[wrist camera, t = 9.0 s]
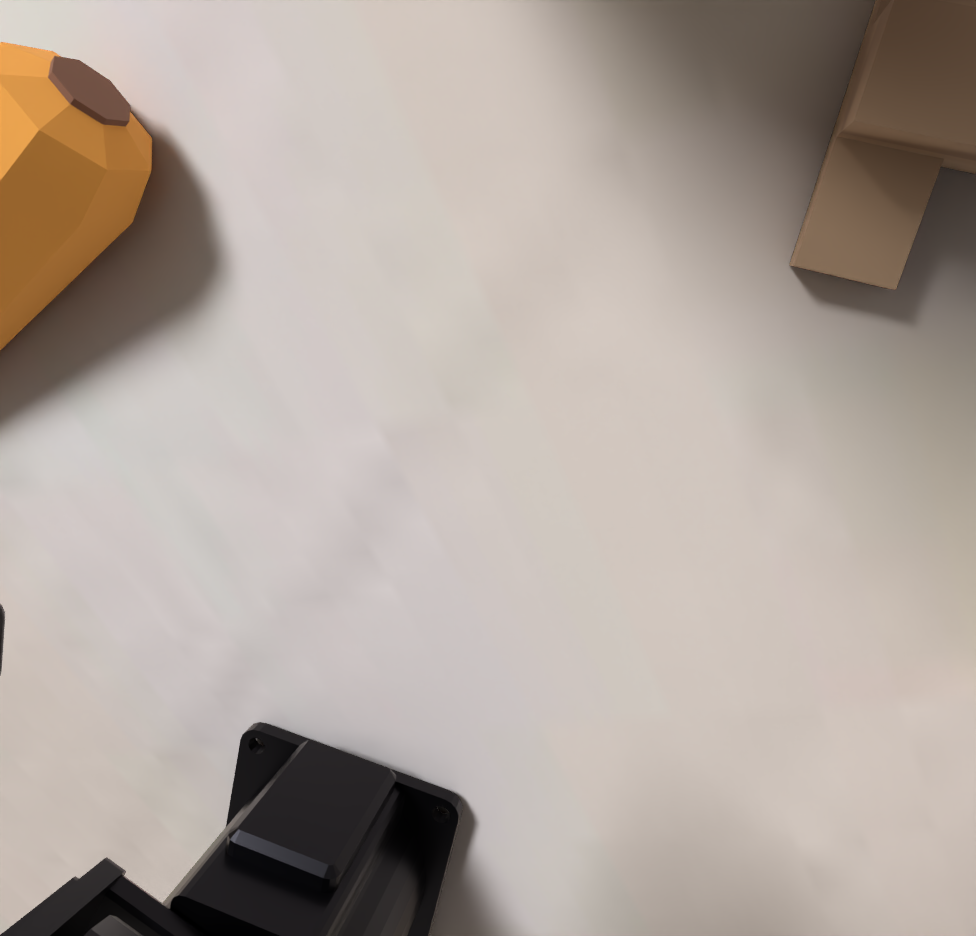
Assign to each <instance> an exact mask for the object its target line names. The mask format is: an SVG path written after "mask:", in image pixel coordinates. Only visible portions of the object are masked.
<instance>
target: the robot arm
mask: <svg viewBox="0 0 976 936" xmlns="http://www.w3.org/2000/svg"><path fill="white" fill-rule="evenodd" d="M4 624H5V612H4V609H3V607H2V605H1V604H0V675H1V669H2V655H3V640H4ZM256 738H259V739H260V740H262V742H263V743H264V745H265V746H262V745H260V744H259V743H258V742H257V741H256ZM437 806H441V807H444V808H446V809H447V810H448V812H449V814H445V813H442V812H440V811H439V810H438V808H437ZM461 815H462V803H461V801H460V799H459V798H458V797H457V795H456V794H454V793H452V792H451V791H449V790H446V789H444V788H441V787H438V786H435V785H433V784H430V783H427V782H425V781H422V780H419V779H416V778H414V777H411V776H408V775H405V774H403V773H400V772H397V771H395V770H392V769H389V768H387V767H384V766H382V765H379V764H376V763H373V762H371V761H368V760H365V759H362V758H360V757H357V756H354V755H352V754H349V753H346V752H343V751H341V750H338V749H335V748H332V747H330V746H327V745H324V744H322V743H319V742H316V741H313V740H310V739H307V738H305V737H302V736H299V735H296V734H294V733H291V732H288V731H286V730H283V729H280V728H277V727H275V726H272V725H269V724H267V723H261V722H259V723H255V724H253V725H252V726H251V727H250V728H249V729H248V730H247V731H246V732H245V733H244V734H243V735H242V738H241V740H240V746H239V752H238V758H237V764H236V770H235V776H234V782H233V788H232V794H231V800H230V806H229V812H228V818H227V825H226V828H225V829H224V830H223V831H222V833H221V834H220V835H219V836H218V837H217V839H216V840H215V841H214V842H213V843H212V845H211V846H210V847H209V848H208V849H207V851H206V852H205V853H204V854H203V855H202V857H201V858H200V859H199V860H198V861H197V863H196V864H195V865H194V866H193V867H192V869H191V870H190V871H189V872H188V873H187V875H186V876H185V877H184V878H183V879H182V881H181V882H180V883H179V884H178V885H177V887H176V888H175V889H174V890H173V891H172V893H171V894H170V895H169V896H168V897H167V898H166V900H165V901H164V902H163V903H161V902H160V901H158V900H157V899H156V898H154V897H153V896H151V895H150V894H149V893H147V892H146V891H144V890H143V889H142V888H140V887H139V886H137V885H136V884H135V883H133V882H132V881H130V880H129V879H128V878H126V877H125V876H124V875H125V873H126V871H125V870H124V869H122V868H121V867H119V866H118V865H117V864H115V863H114V862H112V861H111V860H110V859H108V858H105V859H104V860H102V861H101V862H100V863H99V864H97V865H96V866H95V867H94V868H92V869H91V870H90V871H88V872H87V873H86V874H85V875H83V876H82V877H81V878H80V879H78V878H77V877H74V878H72V879H71V880H70V881H68V882H67V883H66V884H65V885H63V886H62V887H61V888H59V889H58V890H57V891H56V892H54V893H53V894H52V895H51V896H49V897H48V898H47V899H45V900H44V901H43V902H42V903H40V904H39V905H38V906H37V907H35V908H34V909H33V910H32V911H30V912H29V913H28V914H26V915H25V916H24V917H23V918H21V919H20V920H19V921H18V922H16V923H15V924H14V925H12V926H11V927H10V928H9V929H7V930H6V931H5V932H4V933H2V934H1V935H0V936H430V932H431V928H432V924H433V921H434V917H435V913H436V909H437V906H438V902H439V898H440V894H441V890H442V887H443V883H444V879H445V875H446V871H447V868H448V864H449V860H450V856H451V853H452V849H453V845H454V841H455V837H456V834H457V830H458V826H459V822H460V818H461Z"/></svg>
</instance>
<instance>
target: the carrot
mask: <svg viewBox="0 0 976 936" xmlns="http://www.w3.org/2000/svg"><path fill="white" fill-rule="evenodd" d="M151 168H152V137H151V136H150V135H149V134H148V133H147V131H146V130H145V129H144V128H143V127H142V125H141V124H140V123H139V122H138V120H137V119H136V118H135V117H134V116H133V114H132V113H131V112H130V104H129V103H128V102H127V101H126V100H125V98H124V97H123V96H122V95H121V93H120V92H119V91H118V90H117V89H116V87H115V86H114V85H113V84H112V82H111V81H110V80H108V79H107V78H105V77H104V76H102V75H101V74H99V73H98V72H96V71H95V70H93V69H92V68H90V67H89V66H87V65H86V64H84V63H83V62H81V61H80V60H75V59H70V58H64V57H61V56H59V55H58V54H56V53H55V52H53V51H48V50H42V49H37V48H31V47H26V46H21V45H15V44H10V43H4V42H1V43H0V350H1V349H2V348H3V347H4V346H5V345H6V344H7V343H8V342H10V341H11V340H12V339H13V338H14V337H15V336H16V335H17V334H18V333H19V332H20V331H21V330H22V329H23V328H24V327H25V326H26V325H27V324H28V323H29V322H30V321H31V320H32V319H33V318H34V317H35V316H36V315H37V314H38V313H39V312H41V311H42V310H43V309H44V308H45V307H46V306H47V305H48V304H49V303H50V302H51V301H52V300H53V299H54V298H55V297H56V296H57V295H58V294H59V293H60V292H61V291H62V290H63V289H64V288H65V287H66V286H67V285H68V284H69V283H71V282H72V281H73V280H74V279H75V278H76V277H77V276H78V275H79V274H80V273H81V272H82V271H83V270H84V269H85V268H86V267H87V266H88V265H89V264H90V263H91V262H92V261H93V260H94V259H95V258H96V257H97V256H98V255H99V254H100V253H102V252H103V251H104V250H105V249H106V248H107V247H108V246H109V245H110V244H111V243H112V242H113V241H114V240H115V239H116V238H117V237H118V236H119V235H120V234H121V233H122V232H123V231H124V230H125V229H126V228H127V227H128V226H129V225H130V224H132V223H133V220H134V217H135V214H136V212H137V209H138V206H139V204H140V201H141V198H142V195H143V193H144V190H145V187H146V184H147V182H148V179H149V176H150V173H151Z"/></svg>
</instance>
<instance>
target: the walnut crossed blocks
mask: <svg viewBox="0 0 976 936" xmlns="http://www.w3.org/2000/svg"><path fill="white" fill-rule="evenodd" d="M941 167H945V168H950V169H954V170H959V171H964V172H968V173H973V174H976V0H876V1H875V4H874V7H873V10H872V13H871V16H870V19H869V23H868V26H867V29H866V32H865V35H864V38H863V41H862V44H861V47H860V50H859V53H858V56H857V59H856V62H855V65H854V68H853V72H852V75H851V78H850V81H849V84H848V87H847V90H846V93H845V96H844V99H843V102H842V105H841V108H840V111H839V114H838V118H837V121H836V124H835V127H834V130H833V133H832V136H831V139H830V142H829V145H828V148H827V151H826V154H825V157H824V160H823V163H822V167H821V170H820V173H819V176H818V179H817V182H816V185H815V188H814V191H813V194H812V197H811V200H810V203H809V206H808V209H807V213H806V216H805V219H804V222H803V225H802V228H801V231H800V234H799V237H798V240H797V243H796V246H795V249H794V252H793V255H792V258H791V262H790V266H794V267H798V268H803V269H807V270H811V271H815V272H819V273H824V274H828V275H832V276H836V277H840V278H845V279H849V280H853V281H857V282H861V283H866V284H870V285H874V286H878V287H883V288H887V289H893V290H896V288H897V285H898V283H899V280H900V277H901V275H902V272H903V269H904V266H905V264H906V261H907V258H908V255H909V253H910V250H911V247H912V244H913V242H914V239H915V236H916V233H917V231H918V228H919V225H920V223H921V220H922V217H923V214H924V212H925V209H926V206H927V203H928V201H929V198H930V195H931V192H932V190H933V187H934V184H935V182H936V179H937V176H938V173H939V171H940V168H941Z"/></svg>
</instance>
